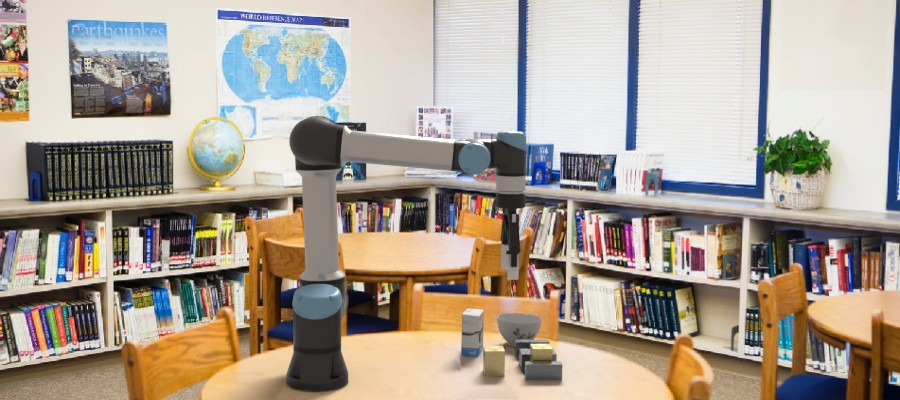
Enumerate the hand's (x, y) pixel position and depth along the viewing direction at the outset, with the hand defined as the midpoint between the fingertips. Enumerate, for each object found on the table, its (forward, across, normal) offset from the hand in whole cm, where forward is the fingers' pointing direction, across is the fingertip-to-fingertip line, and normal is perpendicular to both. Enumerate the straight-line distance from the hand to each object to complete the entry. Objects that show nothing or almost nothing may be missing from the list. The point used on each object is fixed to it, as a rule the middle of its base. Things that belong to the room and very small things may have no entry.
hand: (509, 274), depth 255 cm
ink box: (+25, +14, +8) cm, 30 cm away
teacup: (+25, +25, -6) cm, 36 cm away
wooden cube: (+24, -6, -8) cm, 26 cm away
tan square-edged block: (+25, -6, +4) cm, 26 cm away
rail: (+25, 0, -8) cm, 26 cm away
